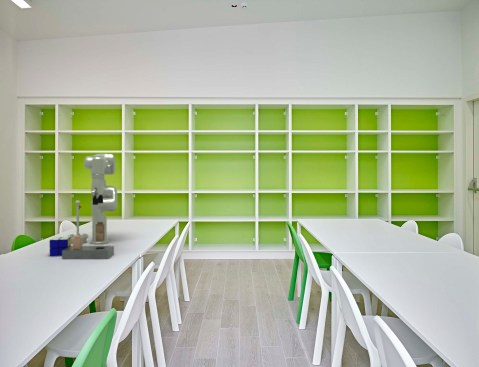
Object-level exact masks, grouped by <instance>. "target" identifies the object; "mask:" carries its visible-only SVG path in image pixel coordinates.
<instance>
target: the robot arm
mask: <svg viewBox="0 0 479 367" xmlns="http://www.w3.org/2000/svg"><path fill="white" fill-rule="evenodd" d="M83 164H84V168H85V169H88V170H89V171H90V176H91V189H90V190H91V191H90V194H91V195H92V198H91V199H92V200H91V202H90V207H91V218H92V220H91V222H92V223H91V224H92V226H91V228H92V229H91V230H92V231H91V232H92V233H91V234H92V240H90V241H89V243H90V244H91V245H93V244H94V245H101V244H102V245H103V244H107V243H109V242H110V240H109V239H107V235H108V234H107V232H108V229H107V228H108V227H107V225H108V224H107V223H108V222H107V221H108V219H107V215H105V213H104V212H115V211H116V210H117V209H118V190H117V187H116V186H114V185H107V180H106V179H105V175H108V176H109V175H111V176H112V175H114V174H115V173H116V158H115V155H114V154H112V153H97V154H95V155H89V156H88V155H87V156H86V157H85V158H84V162H83ZM97 222H103V224H105V240H104V241H96V224H97Z"/></svg>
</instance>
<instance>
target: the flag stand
mask: <svg viewBox="0 0 479 367" xmlns="http://www.w3.org/2000/svg"><path fill="white" fill-rule="evenodd" d="M80 203H81V201H80V200H75V204H76V234H74V233H72V234H68V235H67V236H71V245H73V238H75V236H81V237H82V244H86V243H87V239H88V238H89V234H88V233H82V234H81V233H80V209H81V208H82V206H81V205H80Z"/></svg>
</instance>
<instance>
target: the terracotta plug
mask: <svg viewBox="0 0 479 367" xmlns="http://www.w3.org/2000/svg"><path fill="white" fill-rule="evenodd" d="M72 246H73V249H81V248H82V246H83V243H82V237H81V236H75V238H73V244H72Z"/></svg>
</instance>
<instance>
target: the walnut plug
mask: <svg viewBox="0 0 479 367" xmlns="http://www.w3.org/2000/svg"><path fill="white" fill-rule="evenodd" d="M104 240H105V224H103V222H97V224H96V241H104Z"/></svg>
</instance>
